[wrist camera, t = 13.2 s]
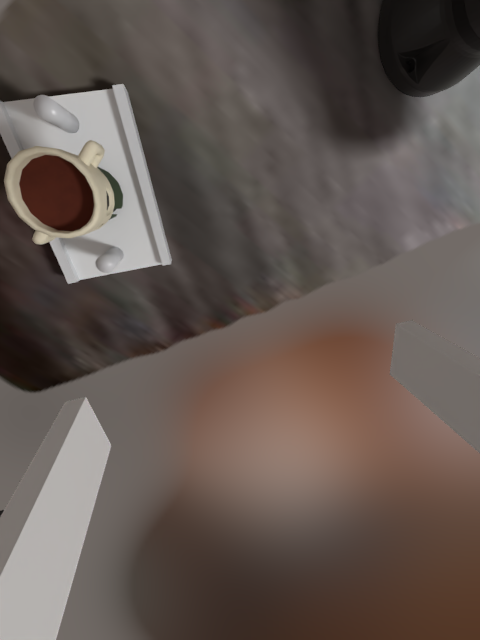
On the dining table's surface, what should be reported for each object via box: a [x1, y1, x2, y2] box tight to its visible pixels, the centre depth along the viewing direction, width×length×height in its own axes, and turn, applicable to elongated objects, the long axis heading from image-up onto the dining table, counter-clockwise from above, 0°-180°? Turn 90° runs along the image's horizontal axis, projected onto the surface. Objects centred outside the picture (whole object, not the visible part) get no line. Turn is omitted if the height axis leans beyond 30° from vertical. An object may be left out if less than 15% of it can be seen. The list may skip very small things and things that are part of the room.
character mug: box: [4, 140, 123, 245], centre depth 28 cm, size 11×7×13 cm, turn 140°
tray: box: [0, 84, 172, 284], centre depth 32 cm, size 14×20×8 cm
